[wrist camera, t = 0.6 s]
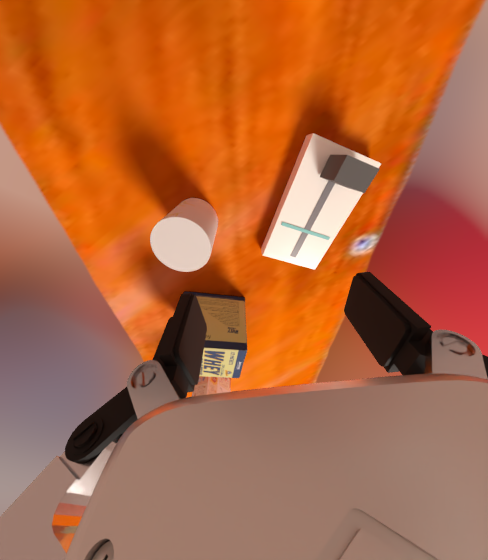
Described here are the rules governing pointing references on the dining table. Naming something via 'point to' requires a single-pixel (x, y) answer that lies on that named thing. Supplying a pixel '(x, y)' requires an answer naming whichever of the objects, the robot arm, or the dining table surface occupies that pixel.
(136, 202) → the dining table surface
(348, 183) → the fader knob
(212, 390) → the cracker box
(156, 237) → the white cylinder
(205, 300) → the protein box
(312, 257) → the fader console
